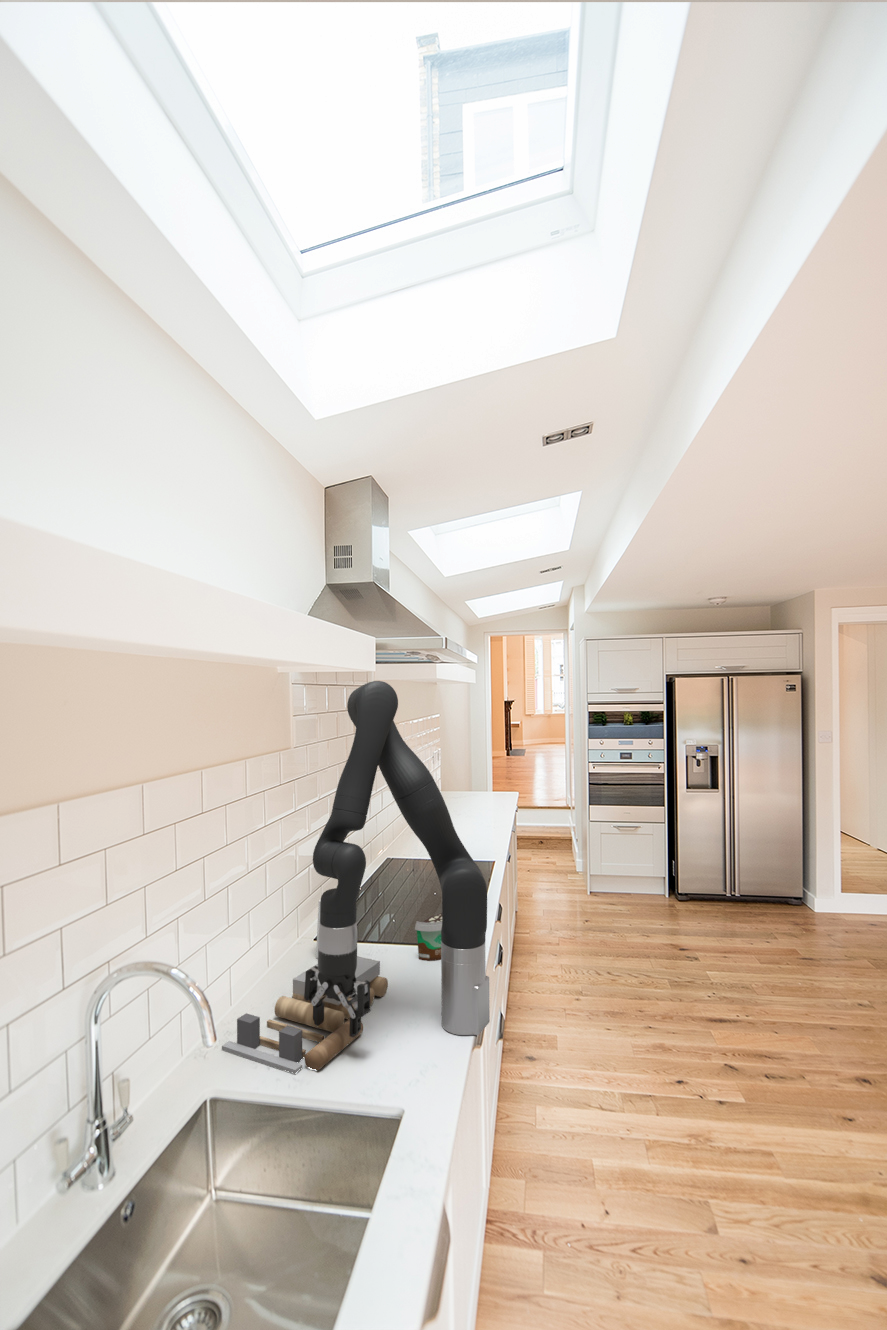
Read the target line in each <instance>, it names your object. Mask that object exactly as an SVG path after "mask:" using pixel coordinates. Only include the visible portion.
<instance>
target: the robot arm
mask: <svg viewBox="0 0 887 1330" xmlns="http://www.w3.org/2000/svg"><path fill="white" fill-rule="evenodd" d="M346 704H347V705H346V709H347V713H348V716H349V718H350V720H351V722H352V723H353V725H354V727H355V732H354V738H353V742H352V745H351V749H350V753H349V754H348V758H347V759H346V762H345V764H344V767H343V770H342V773H341V775H340V777H339V780H338V782H337V783H338V784H337V787H336V791H335V794H334V798H333V799H334V800H333V804H332V809H331V813H330V816H329V818H328V820H327V822H326V824H325V826H324V828H323V830H322V832H321V834H320V836H319V837H318V840H317V842H316V844H315V846H314V849H313V852H312V863H313V864H312V865H313V869H314V870H315V872H316V873H317V874H319V875H320V876H322V877H327V878H329V879H330V878H331V879H334V880H337V885H336V888H334V887H333V888H329V889H327V890H325V891H324V892H322V894H321V897H320V899H321V901H320V927H319V934H318V959H317V964H318V967H317V966H315V965H313V966H314V967H313V966H312V968H311V967H310V968H308V969H309V970H308V969H307V970H305V971H306V977H305V992H304V998H305V1000H307V1001H308V1000H309V1001H311V1004H312V1005H313V1021H314V1024H315V1025H317V1026H318V1025H320V1024H321V1023H323V1021H324V1002H322V1001H323V1000H324V999H325V997H326V996H327V998H330V999H335V1000H337V1001H341V1002H342V1004H343V1006H344V1008H347V1010H348V1012H349V1014H350V1016H351V1017H350V1029H349V1036H350V1037H355V1036H356V1035H357V1034H358V1033H359V1032H360V1031H361V1022H362V1018H363V1017H365V1016H366V1015H367V1014H368V1013H370V1012H371V1011H372V1010H371V1009H372V1008H371V1007H372V1006H370V983H369V981H368V980H366V981H364V982H360V981H357V980H356V977H355V972H356V968H357V956H358V927H357V910H358V909H357V901H358V897H359V893H360V889H361V885H362V883H363V879H364V876H365V872H366V869H367V868H366V867H367V859H366V855H365V852H364V850H363V849H362V847H361V846H359V844H358V845H357V844H355V843H351V842H345V840H346V839H347V837H348V835H349V833H351V832H357V831H360V830H362V829H363V828H364V827H365V826H366V821H367V818H368V817H367V816H368V812H369V808H370V803H371V798H372V793H373V788H374V783H375V779H376V775H377V771H378V768H379V770H380V772H381V774H382V776H383V779H384V781H385V782H386V784H387V785H386V786H388V789H389V791H390V793H391V795H392V798H393V799H394V801H395V803H396V805H397V807H398V809H399V811H400V813H401V816H403V818H404V820H405V821H406V823H407V824H408V826H409V827H410V829H411V831H413V833H414V834H415V836H416V837H417V838H418V840H419V841H420V842H421V843H422V845H423V847H424V848H425V849H426V851H427V854H428V855H429V858H430V860H431V863H432V865H433V868H434V870H435V872H436V875H437V878H438V881H439V886H440V889H441V903H442V904H441V913H442V928H441V960H440V963H441V964H440V967H441V969H440V970H441V976H440V977H441V979H440V980H441V981H440V982H441V988H440V991H441V993H440V994H441V1013H440V1014H441V1026H442V1029H444V1030H445V1031H446V1032H448V1033H450V1034H454V1035H457V1036H458V1035H459V1036H471V1035H474V1036H479V1035H481V1033H482V1032H483V1030H484V1029H485V1028H486V1027H487V1025H489V1023H490V1019H491V1018H490V976H489V975H486V971H487V970H486V936H487V935H486V934H487V928H488V887H487V882H486V880H485V878H484V877H485V876H484V875H483V873H482V870H481V869H480V868H479V866H478V865H477V863H476V862H475V860H474V859H473V858H472V857H471V855H470V853H469V852H468V851H467V849H466V847H465V846H464V844H463V842H462V841H461V839H460V836H459V835H458V833H457V831H456V829H455V826H454V824H453V821H452V818H451V814H450V811H449V810H448V809H449V808H448V806H447V804H446V801H445V800H444V796H443V795H442V793H441V791H440V788H439V787H438V784H437V783H436V781H435V779H434V777H433V775H432V774H431V772H430V770H429V769H428V768H427V765H425V764H424V762H423V761H422V760H421V759H420V757H418V755H417V754H416V753H415V752H414V751H413V750H412V749H411V748H410V746H408V744H407V743H406V742H405V741H404V739H403V738H402V736H401V733H400V731H399V729H398V727H397V724H395V723H396V722H395V721H394V720H395V716H396V713H397V711H398V709H399V699H398V694H397V692H396V690H395V689H394V688H393V687H392V685H391V684H389V683H388V682H385V681H382V680H373V681H369V682H367V683H365V684H362V685H360V686H359V687H358V688H356V689H354V690H353V691H352V692H351V694H350V695H349V697H348V699H347V703H346ZM318 980H319V982H320V984H321V987H320V989H319V990H318V992H317V984H318ZM354 988H355V989H356V991H355V989H354ZM349 995H350V996H351V1000H348V999H347V997H349ZM352 1004H353V1005H354V1007H355V1009H354V1007H353V1005H352Z"/></svg>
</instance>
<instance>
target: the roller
mask: <svg viewBox="0 0 887 1330" xmlns="http://www.w3.org/2000/svg"><path fill="white" fill-rule="evenodd" d="M362 1022H363V1021H361V1031H360V1032H359V1033H358V1034H357V1035H356V1036H355V1037H350V1036H349V1029H350V1019H347V1020H346V1021H344V1024H343V1025H341V1026H340V1027H339V1028H338V1029H336V1030H335V1031H334V1032H330V1034H329V1035H327V1036H326V1037H324V1040H323V1041H321V1042H320V1043H319V1042H318V1044H316V1045H315V1046H314V1047H313V1048H311V1049H310V1050H309V1051H308V1052H306V1055H305V1057H304V1063H305V1067H310V1068H312V1069H316V1070H318V1071H319V1070H320V1069H322V1068H323V1067H324V1066H325V1065H327V1064H328V1063H329V1062H330V1061H331V1060H333V1058H334V1057H336V1056H337V1055H338V1054H339V1053H341V1052H342V1051H343V1050H345V1048H346V1047H347V1046H349V1044H351V1043H353V1041H355V1040H356V1039H357V1038H358V1037H359V1036H360V1035H361V1034H363V1031H364V1024H363V1023H362Z"/></svg>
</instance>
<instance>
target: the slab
mask: <svg viewBox="0 0 887 1330" xmlns="http://www.w3.org/2000/svg"><path fill="white" fill-rule="evenodd" d="M314 966H317V967H318V963H316V964H314V965H313V966H312V967H314ZM312 967H310V968H312ZM310 968H308V969H307V970H309V969H310ZM307 970H305V971H304V972H302V973H300V974H299V975H297V976H295V977H294V978H293V979H292V994H293V993H294V994H298V995H302V996H304V992H305V977H306V971H307ZM380 974H381V961H380V960H376V959H372V958H368V957H367V958H366V957H362V956H358V955H357V968H356V972H355V977H356V980H357V981H360V982H364V981H366V980H368V981H369V982H370V981H372V980H373V979H374V978H376V977H377V976H380ZM320 987H321V984H320V982H319V980H318V984H317V992H318V990H319V989H320ZM354 989H355V988H354ZM355 991H356V989H355ZM349 997H350V995H349ZM349 997H347V999H348V998H349ZM323 1001H324V1002H328V1003H332V1004H336V1005H340V1004H341V1003H342V1002H341V1001H337V1000H335V999H330V998H327V996H326V997H325V999H324V1000H323Z"/></svg>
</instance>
